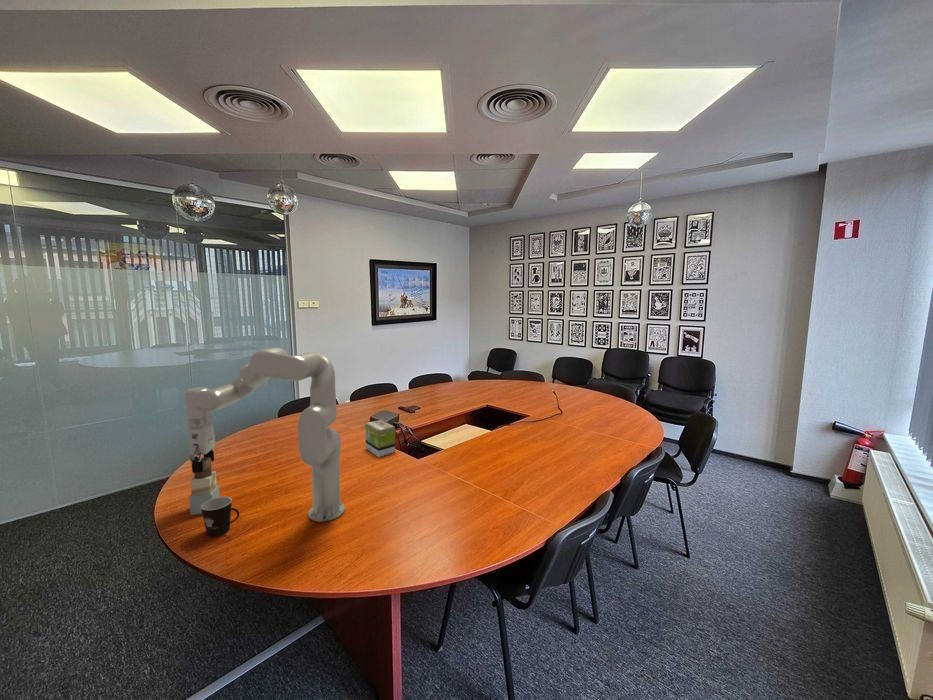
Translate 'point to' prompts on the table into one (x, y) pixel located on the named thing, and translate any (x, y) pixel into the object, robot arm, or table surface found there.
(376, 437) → the tea box
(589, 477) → the table surface
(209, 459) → the walnut cylinder
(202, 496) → the white box
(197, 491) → the birch block
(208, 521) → the coffee mug
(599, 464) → the table surface
